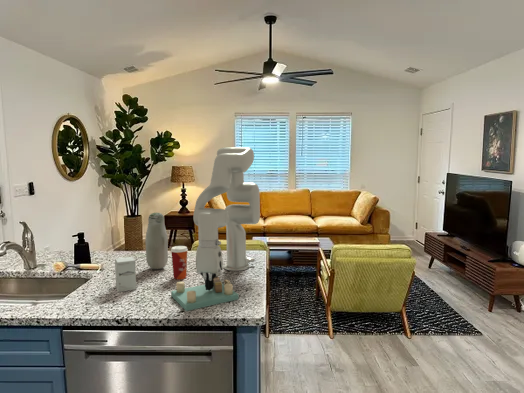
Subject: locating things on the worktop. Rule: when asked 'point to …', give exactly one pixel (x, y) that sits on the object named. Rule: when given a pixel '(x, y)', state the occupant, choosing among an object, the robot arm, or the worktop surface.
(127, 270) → the supplement box
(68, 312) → the worktop surface
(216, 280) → the folding leg
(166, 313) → the worktop surface
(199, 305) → the stool seat
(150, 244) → the grey ceramic bottle
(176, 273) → the paper cup
